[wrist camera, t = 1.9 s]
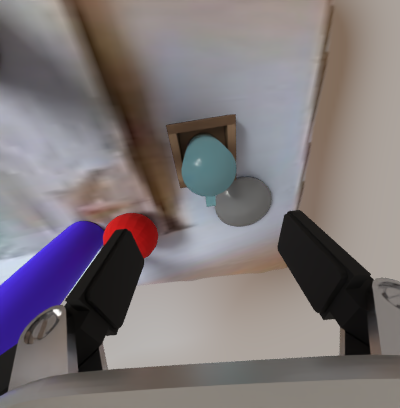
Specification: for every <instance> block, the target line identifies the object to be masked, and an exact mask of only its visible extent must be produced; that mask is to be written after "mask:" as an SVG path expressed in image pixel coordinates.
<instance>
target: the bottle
mask: <svg viewBox="0 0 400 408" xmlns="http://www.w3.org/2000/svg"><path fill="white" fill-rule="evenodd" d="M103 234H104V231H103V229H102V228H101V227H99V226H98V225H96V224H94V223H92V222H88V221H79V222H75V223H74V224H72V225H71V226H69V227H68V228H67V229H65V230H64V231H63V232H62V233H61V234H59V235H58V236H57V237H56V238H55V239H53V240H52V241H51V242H50V243H49V244H48V245H46V246H45V247H44V248H43V249H42V250H41V251H39V252H38V253H37V254H36V255H35V256H34V257H32V258H31V259H30V260H29V261H28V262H27V263H26V264H24V265H23V266H22V267H21V268H20V269H19V270H18V271H16V272H15V273H14V274H13V275H12V276H11V277H10V278H8V279H7V280H6V281H5V282H4V283H3V284H2V285H0V355H2V354H3V353H4V352H6V351H7V350H9V349H10V348H12V347H13V346H14V345H16V344H17V343H18V340H19V338H20V335H21V334H22V332H23V331H24V329H25V328H26V327H27V325H28V324H29V323H30V322H31V321H32V320H33V319H34V318H35V317H36V316H37V315H39V314H40V313H42V312H43V311H44V310H46V309H48V308H50V307H52V306H56V305H60V304H61V303H62V302H63V300H64V298H65V297H66V296H67V295H68V293H69V292H70V290H71V289H72V288H73V286H74V285H75V284H76V282H77V281H78V279H79V278H80V277H81V275H82V274H83V272H84V271H85V269H86V268H87V267H88V265H89V264H90V262H91V261H92V260H93V258H94V257H95V255H96V254H97V252H98V251H99V249H100V248H101V246H102V245H103Z"/></svg>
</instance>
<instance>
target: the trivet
mask: <svg viewBox="0 0 400 408" xmlns="http://www.w3.org/2000/svg"><path fill="white" fill-rule="evenodd" d="M271 200H272V197H271V192H270V190H269V188H268V187H267V186H266V185H265V184H264V183H263V182H262V181H261V180H259V179H257V178H253V177H240V178H236V180H235V181H233V183H232V184H231V185H230V187H229V188H228V189H227V190H225V191H224V192H222V193H221V194H218V195H217V196H216V206H215V210H216V213H217V215H218V217H219V218H220V220H221V221H223V222H224V223H226V224H228V225H231V226H236V227H241V226H247V225H250V224H253V223H255V222H257V221H258V220H260V219H261V218H262V217H263V216H264V215H265V214H266V213H267V211H268V210H269V208H270V205H271Z"/></svg>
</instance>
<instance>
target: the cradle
mask: <svg viewBox="0 0 400 408" xmlns="http://www.w3.org/2000/svg"><path fill="white" fill-rule="evenodd" d="M166 127H167V132H168V136H169V140H170V145H171V149H172V154H173V158H174V162H175V167H176V171H177V175H178V180H179V184H180V188H185V187H187V186H186V184H185V183H184V181H183V178H182V164H183V160H184V156H185V152H186V148H187V144H188V142H189V140H190V139H191V138H192V137H193V136H194V135H196V134H198V133H203V132H205V133H210V134H212V135H214V136H215V137H216V138H217V139H218V140H219V141H220V142H221V143H222V144H223V145H224V146H225V147H226V148H227V149H228V150H229V151H230V152H231V154H232V155H233V157H234V159H235V162H236V114H233V115H225V116H219V117H212V118H206V119H200V120H194V121H188V122H181V123H175V124H169V125H166ZM235 180H236V176H235V179H234V181H235Z"/></svg>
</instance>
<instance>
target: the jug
mask: <svg viewBox="0 0 400 408" xmlns="http://www.w3.org/2000/svg"><path fill="white" fill-rule="evenodd" d="M235 176H236V162H235V159H234V157H233V155H232V154H231V152H230V151H229V150H228V149H227V148H226V147H225V146H224V145H223V144H222V143H221V142H220V141H219V140H218V139H217V138H216V137H215V136H214V135H212V134H210V133H205V132H203V133H198V134H196V135H194V136H193V137H192V138H191V139H190V140H189V142H188V144H187V148H186V152H185V156H184V160H183V164H182V178H183V181H184V183H185V184H186V186H187V187H188V188H189V189H190V190H191V191H192V192H194V193H195V194H198V195H201V196H206V204H207V207H209V206H216V199H215V195H218V194H221V193H222V192H224V191H225V190H227V189H228V188H229V187H230V185H231V184H232V183H233V181H234V179H235Z"/></svg>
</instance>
